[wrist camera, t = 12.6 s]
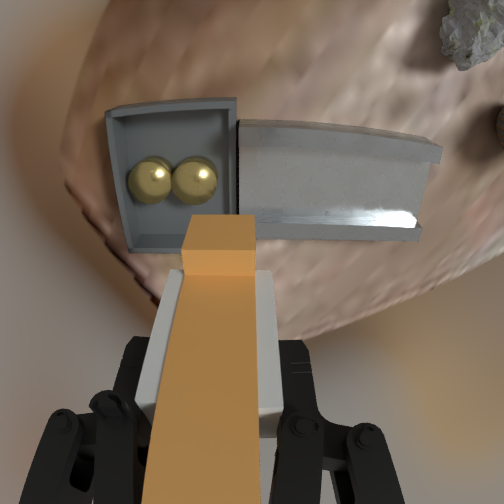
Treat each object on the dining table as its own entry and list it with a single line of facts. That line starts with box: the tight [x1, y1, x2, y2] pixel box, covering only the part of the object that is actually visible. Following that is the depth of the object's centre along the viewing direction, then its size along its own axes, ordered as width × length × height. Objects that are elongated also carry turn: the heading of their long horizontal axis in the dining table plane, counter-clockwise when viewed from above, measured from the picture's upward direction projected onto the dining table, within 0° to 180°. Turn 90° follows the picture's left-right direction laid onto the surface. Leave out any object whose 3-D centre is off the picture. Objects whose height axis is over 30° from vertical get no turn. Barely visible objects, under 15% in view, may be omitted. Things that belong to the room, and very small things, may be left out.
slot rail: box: [239, 119, 443, 242], centre depth 26 cm, size 10×18×4 cm, turn 89°
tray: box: [105, 97, 237, 253], centre depth 26 cm, size 14×11×3 cm
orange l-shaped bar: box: [141, 215, 261, 504], centre depth 11 cm, size 6×3×13 cm, turn 179°
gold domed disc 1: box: [128, 156, 175, 204], centre depth 26 cm, size 4×4×2 cm
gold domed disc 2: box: [171, 156, 219, 205], centre depth 27 cm, size 4×4×2 cm
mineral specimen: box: [439, 0, 504, 71], centre depth 14 cm, size 16×7×7 cm, turn 153°
